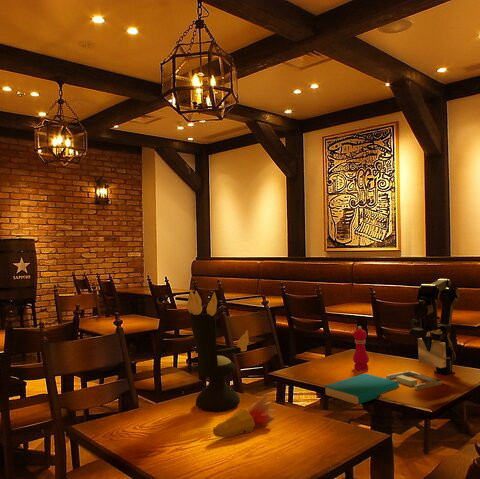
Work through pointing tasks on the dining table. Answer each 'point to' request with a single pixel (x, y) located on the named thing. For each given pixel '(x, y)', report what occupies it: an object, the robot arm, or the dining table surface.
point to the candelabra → (213, 357)
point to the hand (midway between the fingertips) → (431, 350)
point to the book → (360, 388)
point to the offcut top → (406, 380)
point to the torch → (245, 419)
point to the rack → (428, 384)
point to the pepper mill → (360, 350)
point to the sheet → (432, 353)
